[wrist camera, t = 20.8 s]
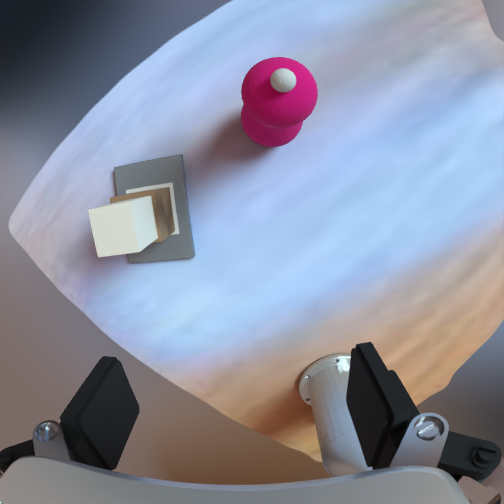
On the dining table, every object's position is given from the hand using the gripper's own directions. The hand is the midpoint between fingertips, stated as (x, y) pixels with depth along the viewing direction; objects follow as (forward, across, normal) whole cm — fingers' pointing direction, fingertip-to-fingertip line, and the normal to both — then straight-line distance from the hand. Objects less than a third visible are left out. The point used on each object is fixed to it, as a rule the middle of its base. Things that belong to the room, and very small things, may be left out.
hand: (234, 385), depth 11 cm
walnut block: (+29, +13, -4) cm, 32 cm away
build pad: (+30, +13, -4) cm, 33 cm away
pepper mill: (+31, -4, -14) cm, 34 cm away
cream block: (+23, +13, -4) cm, 27 cm away
